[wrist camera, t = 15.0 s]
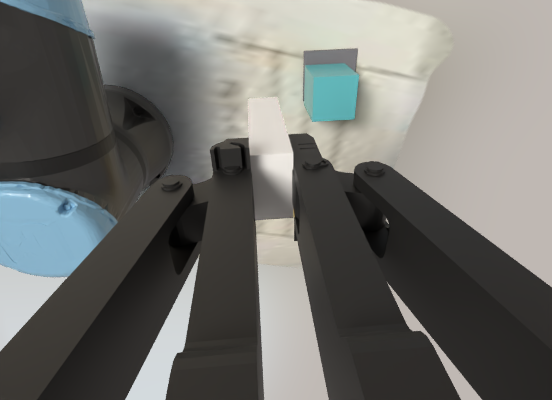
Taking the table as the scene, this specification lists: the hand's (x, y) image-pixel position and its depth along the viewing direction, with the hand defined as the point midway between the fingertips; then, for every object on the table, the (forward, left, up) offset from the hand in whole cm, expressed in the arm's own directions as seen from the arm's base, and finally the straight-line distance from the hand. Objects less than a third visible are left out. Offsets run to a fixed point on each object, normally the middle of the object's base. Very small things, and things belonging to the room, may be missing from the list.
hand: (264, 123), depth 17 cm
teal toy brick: (+9, -6, -28) cm, 30 cm away
